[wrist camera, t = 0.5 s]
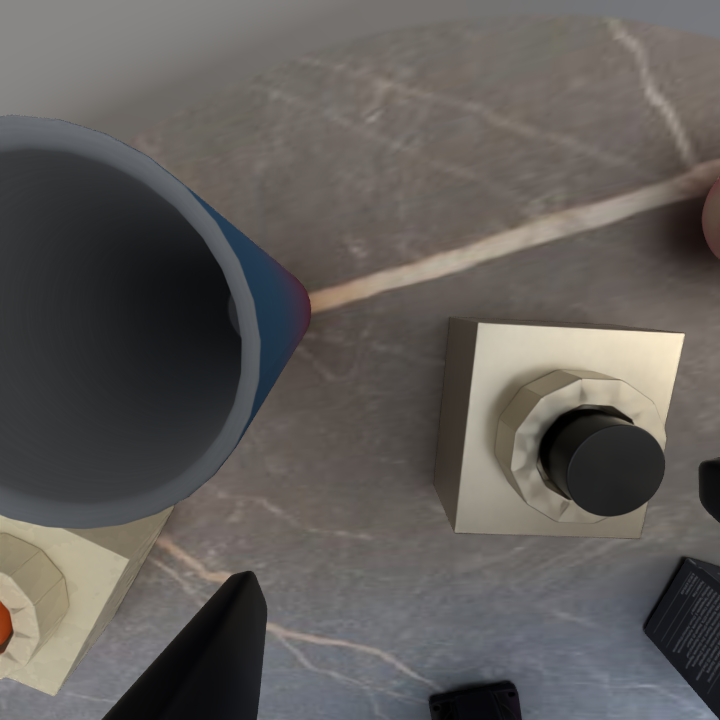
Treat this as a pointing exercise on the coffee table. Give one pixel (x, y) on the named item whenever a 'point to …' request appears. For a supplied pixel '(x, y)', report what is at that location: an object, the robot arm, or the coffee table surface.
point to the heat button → (602, 462)
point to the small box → (692, 629)
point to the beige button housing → (64, 592)
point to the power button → (4, 623)
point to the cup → (124, 330)
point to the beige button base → (540, 417)
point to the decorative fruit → (712, 219)
